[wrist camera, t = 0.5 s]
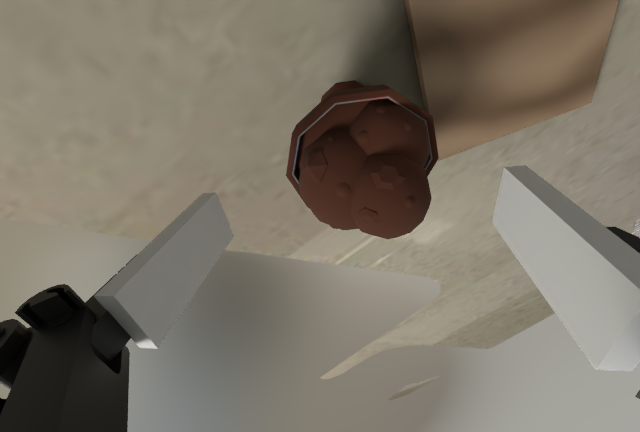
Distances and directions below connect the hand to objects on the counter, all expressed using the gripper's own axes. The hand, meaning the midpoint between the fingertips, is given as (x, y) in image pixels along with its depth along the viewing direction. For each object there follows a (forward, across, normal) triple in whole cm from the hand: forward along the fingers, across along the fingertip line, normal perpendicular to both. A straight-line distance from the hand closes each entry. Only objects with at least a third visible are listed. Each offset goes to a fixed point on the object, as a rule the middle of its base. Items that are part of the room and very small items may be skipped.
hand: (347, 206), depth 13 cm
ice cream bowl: (+17, -1, +1) cm, 17 cm away
